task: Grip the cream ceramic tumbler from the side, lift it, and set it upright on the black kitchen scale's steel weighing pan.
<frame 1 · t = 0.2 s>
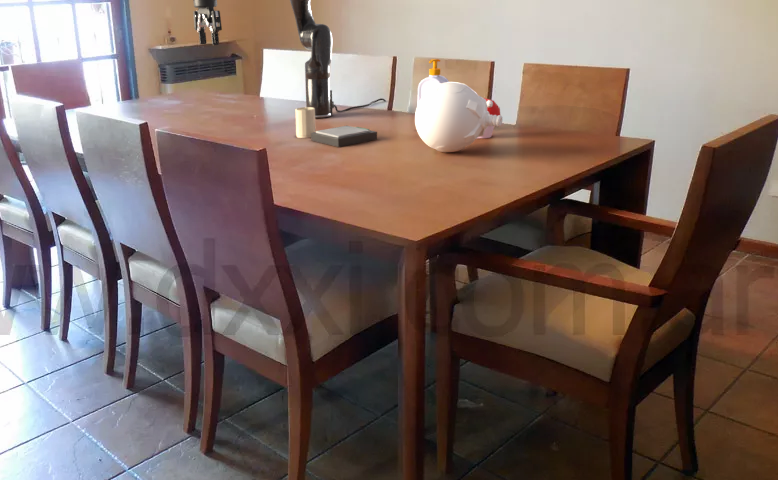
hand: (209, 44, 225), 29 cm above the table, tool pointing down, fingers open, 8 cm apart
mushroom: (481, 136, 219), on the table
tumbler: (305, 136, 227), on the table
white rounded shape: (456, 152, 199), on the table
scale: (344, 140, 220), on the table
soap bottle: (431, 131, 230), on the table
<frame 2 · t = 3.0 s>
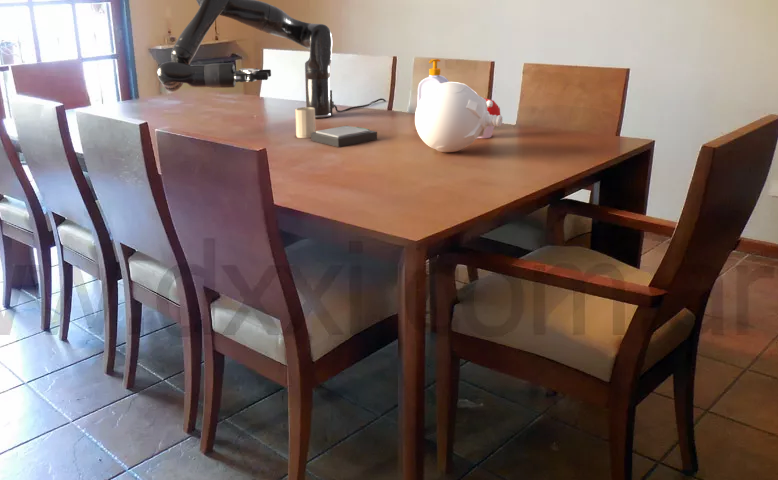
hand: (269, 74, 220), 20 cm above the table, tool horizontal, fingers open, 8 cm apart
nothing on the table moved.
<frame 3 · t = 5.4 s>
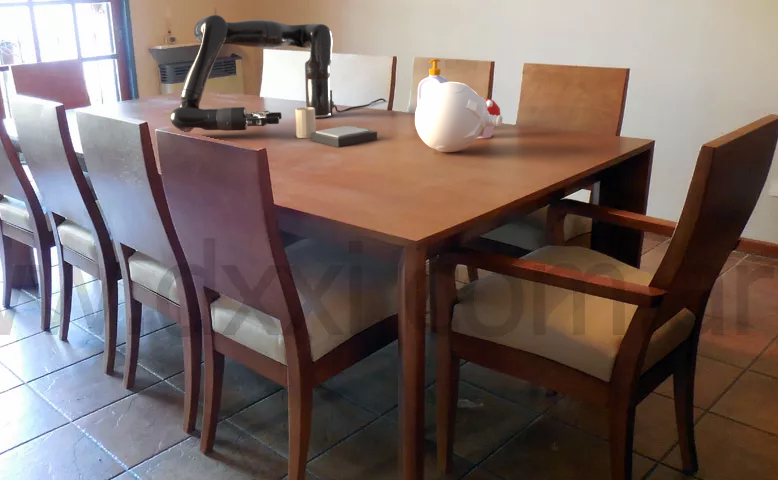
hand: (280, 117, 225), 6 cm above the table, tool horizontal, fingers open, 8 cm apart
nothing on the table moved.
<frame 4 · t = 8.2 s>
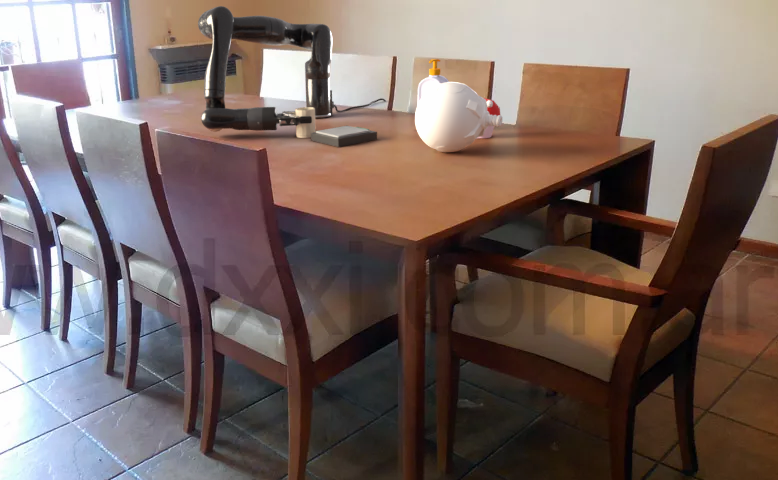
hand: (312, 117, 225), 6 cm above the table, tool horizontal, fingers closed on tumbler, 6 cm apart
tumbler: (305, 136, 227), on the table, touching gripper
everything else where it was.
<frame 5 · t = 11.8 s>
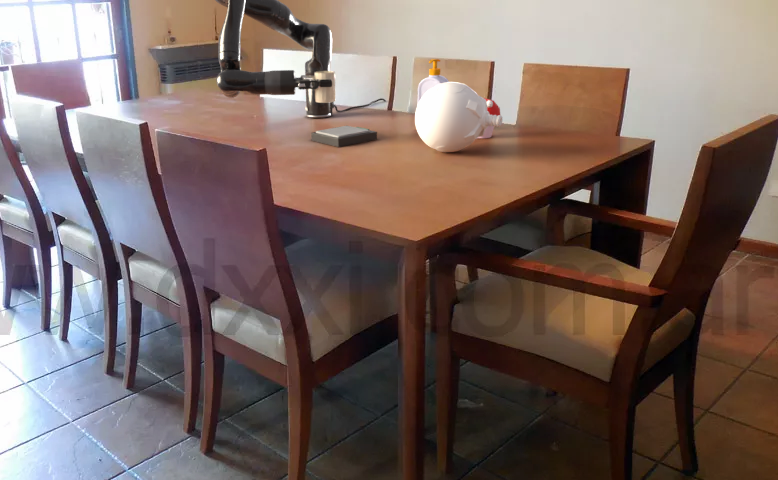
hand: (332, 81, 216), 18 cm above the table, tool horizontal, fingers closed on tumbler, 6 cm apart
tumbler: (325, 101, 218), point 12 cm above the table, touching gripper
everything else where it was.
when the fingers open (9 cm above the table, at t = 15.9 s): tumbler stays where it is, resting on scale.
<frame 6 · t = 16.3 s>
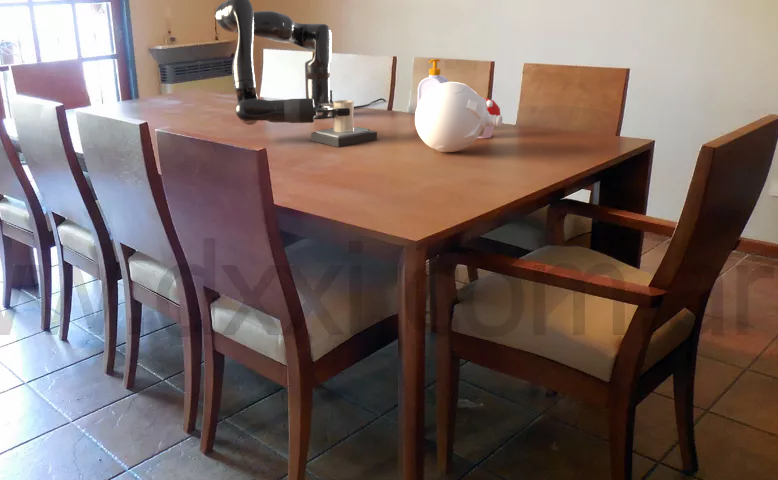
hand: (349, 109, 216), 10 cm above the table, tool horizontal, fingers open, 8 cm apart
tumbler: (343, 130, 218), point 3 cm above the table, touching scale
everything else where it was.
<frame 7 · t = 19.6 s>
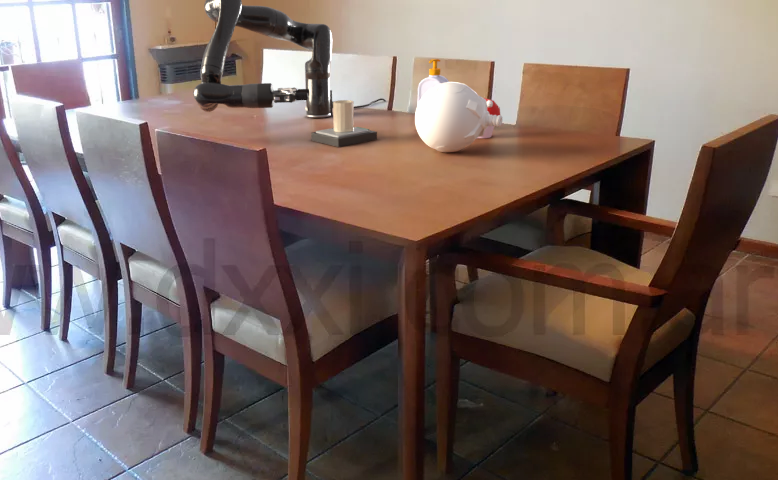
hand: (308, 94, 215), 15 cm above the table, tool horizontal, fingers open, 8 cm apart
nothing on the table moved.
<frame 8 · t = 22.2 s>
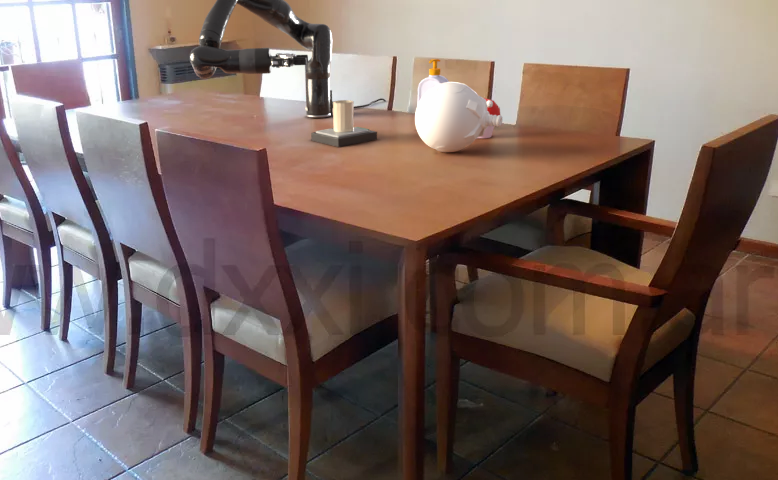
hand: (307, 59, 210), 25 cm above the table, tool horizontal, fingers open, 8 cm apart
nothing on the table moved.
at the end: tumbler inside the target area on the scale (0.1 cm from its centre), point 3.1 cm above the scale's base; tumbler tilted 0°; the gripper is holding nothing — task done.
